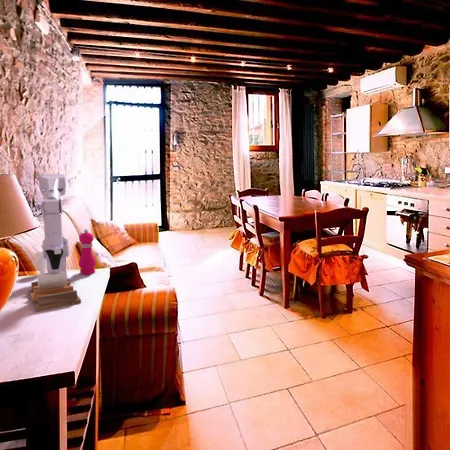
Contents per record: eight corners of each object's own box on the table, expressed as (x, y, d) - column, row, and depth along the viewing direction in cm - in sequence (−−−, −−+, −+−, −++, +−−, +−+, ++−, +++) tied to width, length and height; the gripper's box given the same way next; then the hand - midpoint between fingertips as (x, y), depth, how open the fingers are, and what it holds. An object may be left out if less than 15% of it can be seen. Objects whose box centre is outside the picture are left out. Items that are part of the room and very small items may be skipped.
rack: (28, 292, 131) (28, 282, 130) (68, 286, 139) (68, 276, 138) (36, 311, 115) (35, 299, 114) (80, 302, 123) (80, 291, 122)
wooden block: (65, 291, 130) (64, 270, 129) (67, 293, 128) (66, 272, 127) (38, 295, 125) (37, 274, 124) (40, 298, 123) (38, 276, 122)
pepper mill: (79, 271, 159) (77, 228, 156) (96, 269, 162) (94, 227, 159) (78, 275, 153) (76, 230, 149) (96, 274, 155) (94, 230, 152)
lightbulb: (32, 274, 153) (30, 250, 151) (44, 271, 158) (43, 247, 156) (40, 276, 150) (39, 251, 148) (53, 273, 155) (52, 249, 154)
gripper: (38, 230, 129) (40, 265, 131) (44, 237, 117) (46, 276, 119) (58, 228, 133) (60, 263, 135) (66, 235, 121) (68, 272, 123)
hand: (55, 269), depth 128 cm, fingers closed
